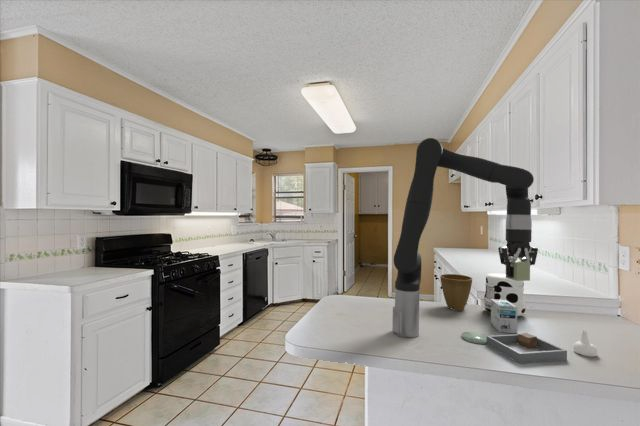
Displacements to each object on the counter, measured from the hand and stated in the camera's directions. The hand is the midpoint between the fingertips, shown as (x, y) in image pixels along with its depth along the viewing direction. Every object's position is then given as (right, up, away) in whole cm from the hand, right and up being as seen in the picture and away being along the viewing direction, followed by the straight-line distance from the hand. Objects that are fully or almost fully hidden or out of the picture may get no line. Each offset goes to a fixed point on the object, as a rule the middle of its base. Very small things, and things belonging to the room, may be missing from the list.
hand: (517, 277), depth 106 cm
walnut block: (+6, -26, +4) cm, 27 cm away
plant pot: (0, -26, +49) cm, 55 cm away
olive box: (0, -1, 0) cm, 1 cm away
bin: (+2, -25, -1) cm, 25 cm away
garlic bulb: (+22, -26, -1) cm, 34 cm away
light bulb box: (+8, -26, +21) cm, 35 cm away
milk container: (+20, -27, +41) cm, 53 cm away
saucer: (-9, -25, +10) cm, 29 cm away
